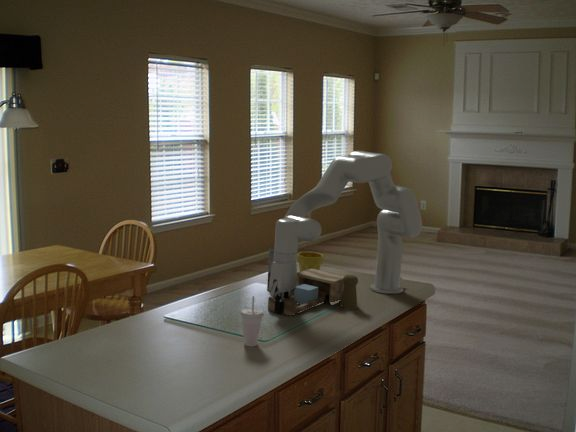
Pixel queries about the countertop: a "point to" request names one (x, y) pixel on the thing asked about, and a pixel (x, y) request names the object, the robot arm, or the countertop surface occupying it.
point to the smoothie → (251, 324)
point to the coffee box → (270, 263)
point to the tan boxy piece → (323, 282)
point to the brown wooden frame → (295, 304)
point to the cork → (349, 292)
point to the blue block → (305, 293)
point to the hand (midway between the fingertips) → (282, 311)
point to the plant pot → (309, 260)
